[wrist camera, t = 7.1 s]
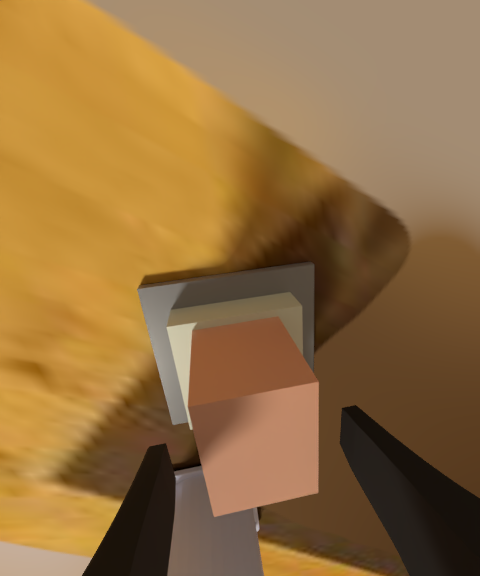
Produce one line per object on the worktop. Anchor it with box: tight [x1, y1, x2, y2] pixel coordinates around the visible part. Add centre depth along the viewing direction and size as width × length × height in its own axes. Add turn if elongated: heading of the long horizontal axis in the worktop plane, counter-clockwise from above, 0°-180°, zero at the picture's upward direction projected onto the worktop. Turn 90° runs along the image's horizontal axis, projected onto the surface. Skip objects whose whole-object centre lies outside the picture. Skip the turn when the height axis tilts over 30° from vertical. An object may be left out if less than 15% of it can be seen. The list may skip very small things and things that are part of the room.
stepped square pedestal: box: [137, 262, 314, 430], centre depth 16 cm, size 10×10×3 cm
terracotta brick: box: [188, 316, 319, 517], centre depth 12 cm, size 6×4×5 cm
